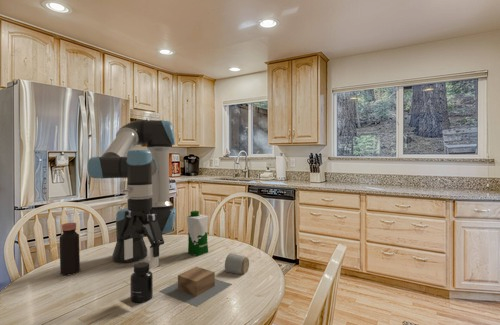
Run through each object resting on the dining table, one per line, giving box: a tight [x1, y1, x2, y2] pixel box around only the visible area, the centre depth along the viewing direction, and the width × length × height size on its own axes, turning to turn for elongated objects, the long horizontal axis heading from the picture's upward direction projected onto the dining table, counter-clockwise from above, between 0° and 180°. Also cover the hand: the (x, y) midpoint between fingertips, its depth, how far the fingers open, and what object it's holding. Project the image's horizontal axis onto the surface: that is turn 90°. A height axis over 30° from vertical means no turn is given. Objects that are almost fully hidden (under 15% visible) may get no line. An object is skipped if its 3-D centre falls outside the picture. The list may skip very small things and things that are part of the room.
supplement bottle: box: [129, 261, 154, 304], centre depth 93 cm, size 7×7×12 cm
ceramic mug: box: [224, 252, 250, 275], centre depth 115 cm, size 11×8×8 cm
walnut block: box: [177, 266, 216, 296], centre depth 100 cm, size 9×9×5 cm
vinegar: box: [59, 222, 81, 276], centre depth 116 cm, size 7×7×20 cm
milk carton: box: [186, 210, 210, 257], centre depth 138 cm, size 9×9×20 cm
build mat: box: [158, 278, 233, 307], centre depth 100 cm, size 18×18×1 cm
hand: (141, 262), depth 92 cm, fingers open, 13 cm apart
